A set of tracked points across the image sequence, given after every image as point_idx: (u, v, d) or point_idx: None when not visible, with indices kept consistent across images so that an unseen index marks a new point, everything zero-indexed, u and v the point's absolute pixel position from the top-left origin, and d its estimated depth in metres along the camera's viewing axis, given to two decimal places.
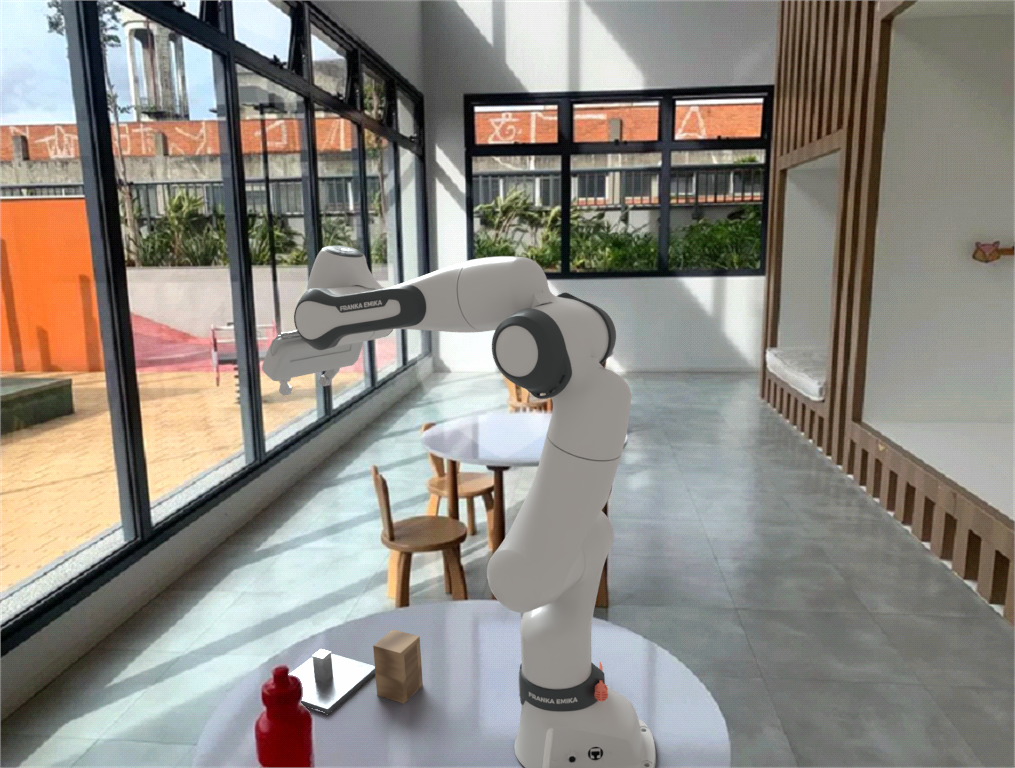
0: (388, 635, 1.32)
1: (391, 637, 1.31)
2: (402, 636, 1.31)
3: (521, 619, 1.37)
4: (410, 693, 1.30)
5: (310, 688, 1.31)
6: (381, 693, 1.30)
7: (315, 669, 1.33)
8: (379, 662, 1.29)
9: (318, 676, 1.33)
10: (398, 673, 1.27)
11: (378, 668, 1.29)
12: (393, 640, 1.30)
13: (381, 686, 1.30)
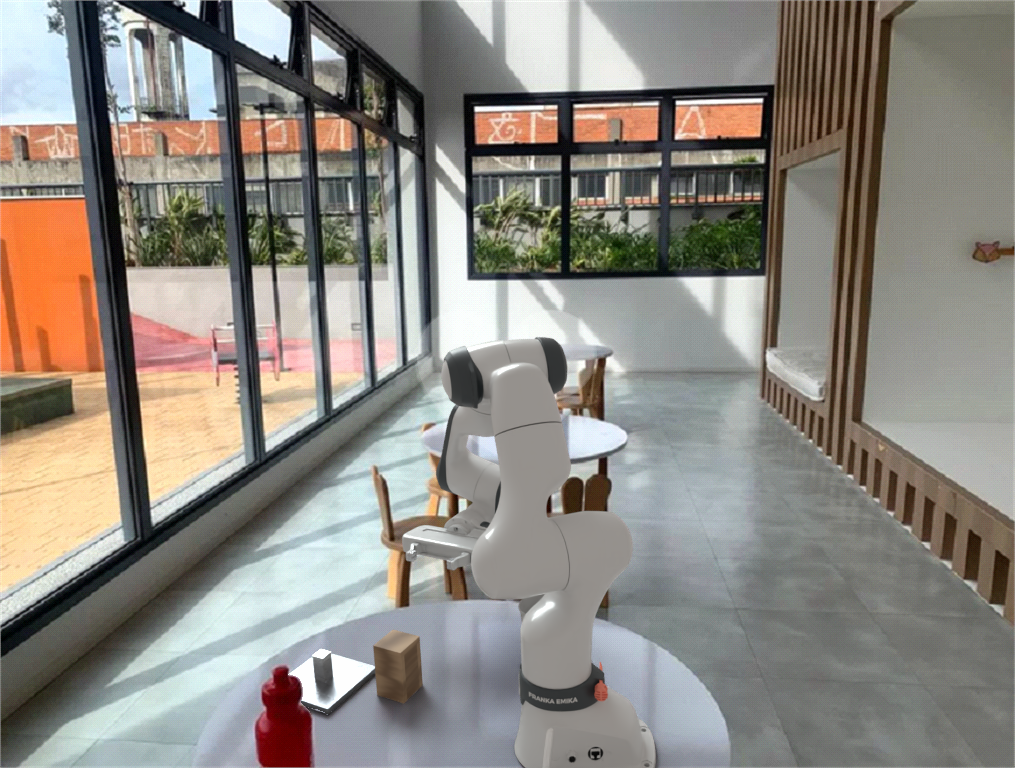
0: (388, 635, 1.32)
1: (391, 637, 1.31)
2: (402, 636, 1.31)
3: (521, 619, 1.37)
4: (410, 693, 1.30)
5: (310, 688, 1.31)
6: (381, 693, 1.30)
7: (315, 669, 1.33)
8: (379, 662, 1.29)
9: (318, 676, 1.33)
10: (398, 673, 1.27)
11: (378, 668, 1.29)
12: (393, 640, 1.30)
13: (381, 686, 1.30)
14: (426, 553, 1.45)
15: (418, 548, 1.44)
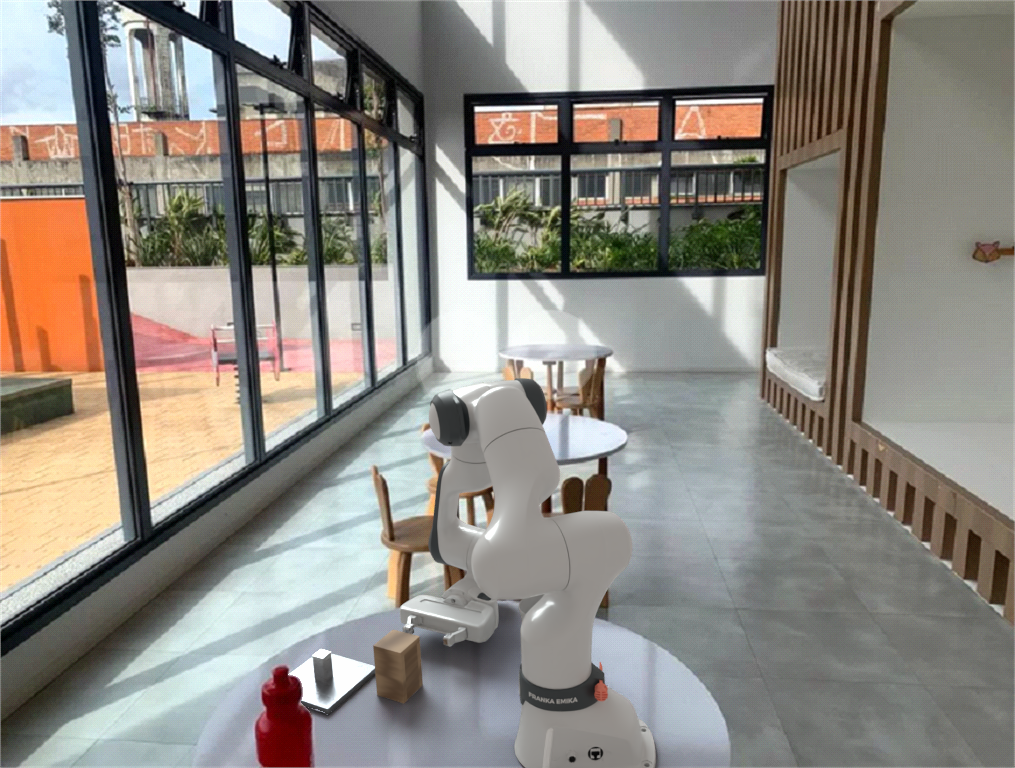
0: (388, 635, 1.32)
1: (391, 637, 1.31)
2: (402, 636, 1.31)
3: (521, 619, 1.37)
4: (410, 693, 1.30)
5: (310, 688, 1.31)
6: (381, 693, 1.30)
7: (315, 669, 1.33)
8: (379, 662, 1.29)
9: (318, 676, 1.33)
10: (398, 673, 1.27)
11: (378, 668, 1.29)
12: (393, 640, 1.30)
13: (381, 686, 1.30)
14: (423, 625, 1.45)
15: (415, 621, 1.44)
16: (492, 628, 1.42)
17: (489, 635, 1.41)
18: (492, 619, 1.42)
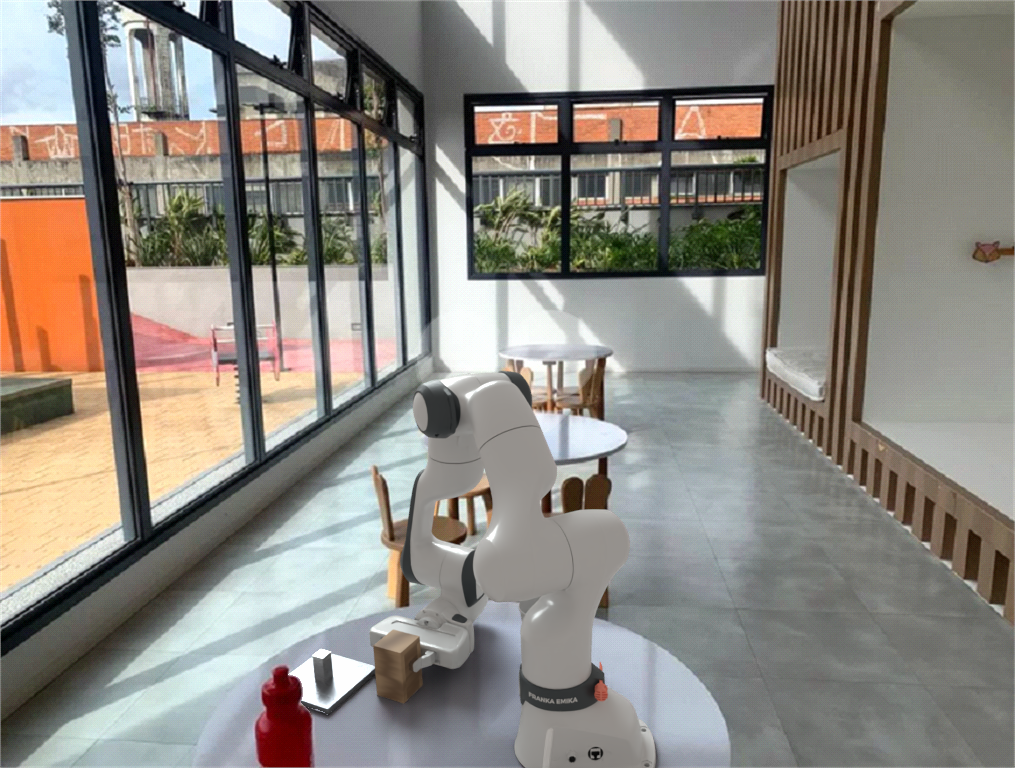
0: (388, 635, 1.32)
1: (391, 637, 1.31)
2: (402, 636, 1.31)
3: (521, 619, 1.37)
4: (410, 693, 1.30)
5: (310, 688, 1.31)
6: (381, 693, 1.30)
7: (315, 669, 1.33)
8: (379, 662, 1.29)
9: (318, 676, 1.33)
10: (398, 673, 1.27)
11: (378, 668, 1.29)
12: (393, 640, 1.30)
13: (381, 686, 1.30)
14: None
15: None
16: (466, 652, 1.34)
17: (463, 660, 1.32)
18: (467, 643, 1.34)
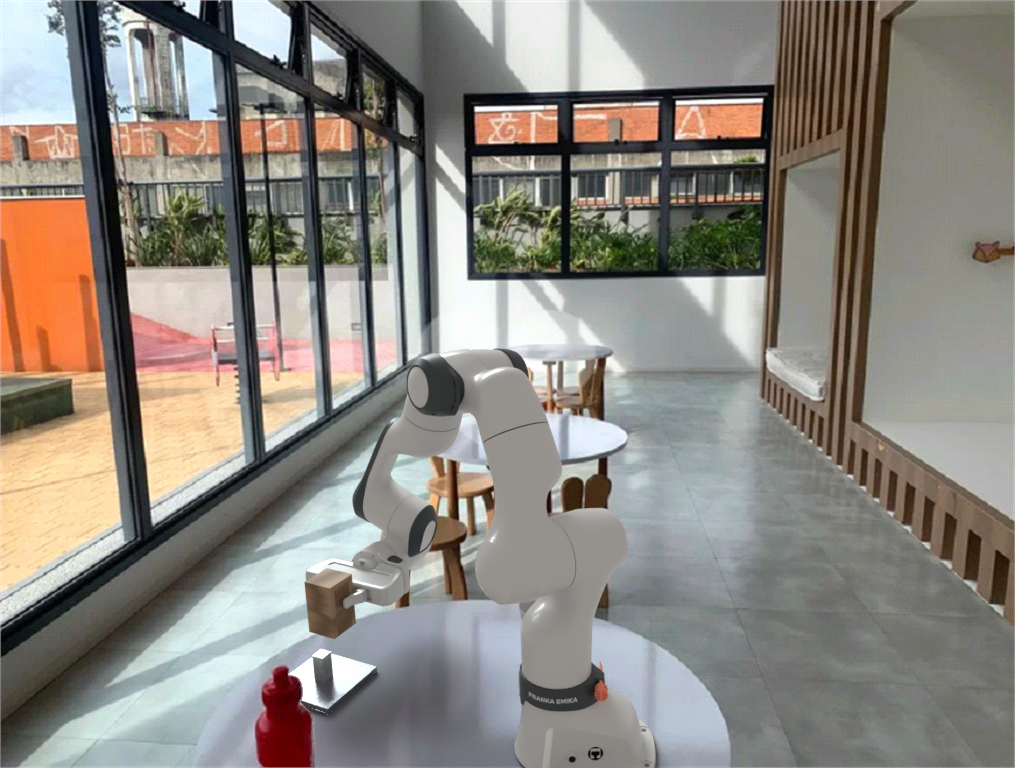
0: (321, 573, 1.33)
1: (323, 575, 1.32)
2: (334, 573, 1.32)
3: (521, 619, 1.37)
4: (341, 629, 1.30)
5: (310, 688, 1.31)
6: (313, 629, 1.31)
7: (315, 669, 1.33)
8: (310, 598, 1.29)
9: (318, 676, 1.33)
10: (328, 609, 1.28)
11: (309, 604, 1.30)
12: (324, 577, 1.31)
13: (312, 622, 1.30)
14: None
15: None
16: (399, 591, 1.34)
17: (395, 598, 1.33)
18: (400, 582, 1.34)
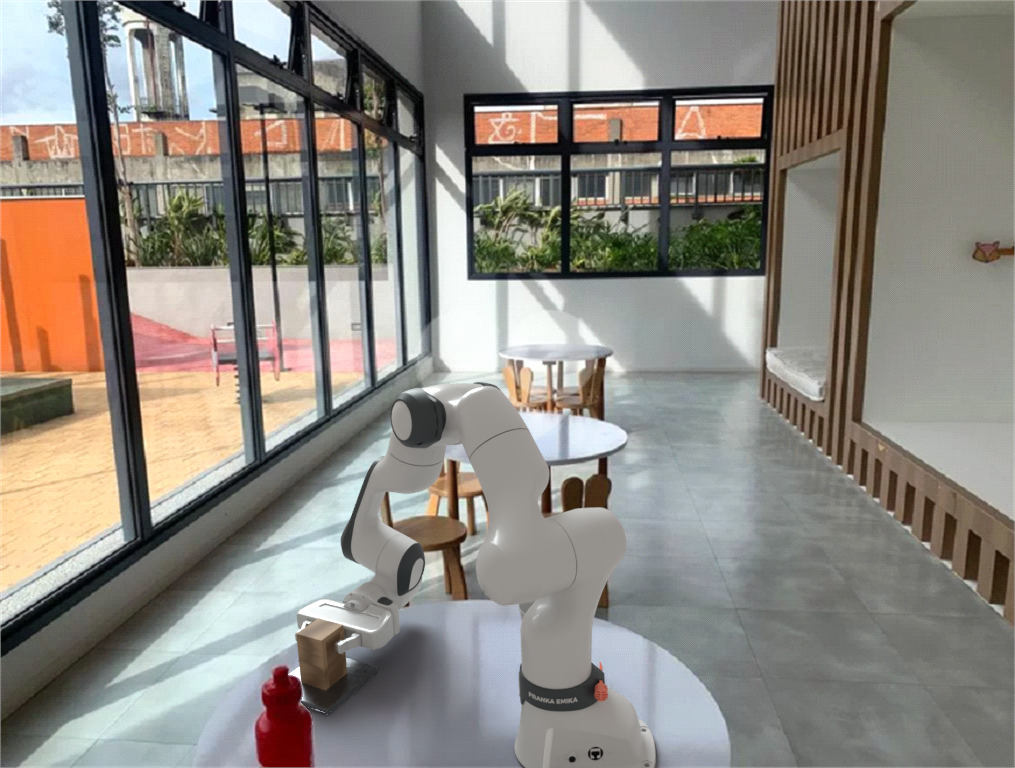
0: (312, 624, 1.34)
1: (315, 625, 1.34)
2: (326, 624, 1.34)
3: (521, 619, 1.37)
4: (333, 680, 1.32)
5: (310, 688, 1.31)
6: (305, 680, 1.33)
7: None
8: (302, 650, 1.31)
9: None
10: (320, 660, 1.30)
11: (301, 656, 1.32)
12: (316, 628, 1.33)
13: (304, 673, 1.32)
14: None
15: None
16: (389, 634, 1.36)
17: (385, 641, 1.34)
18: (389, 625, 1.36)
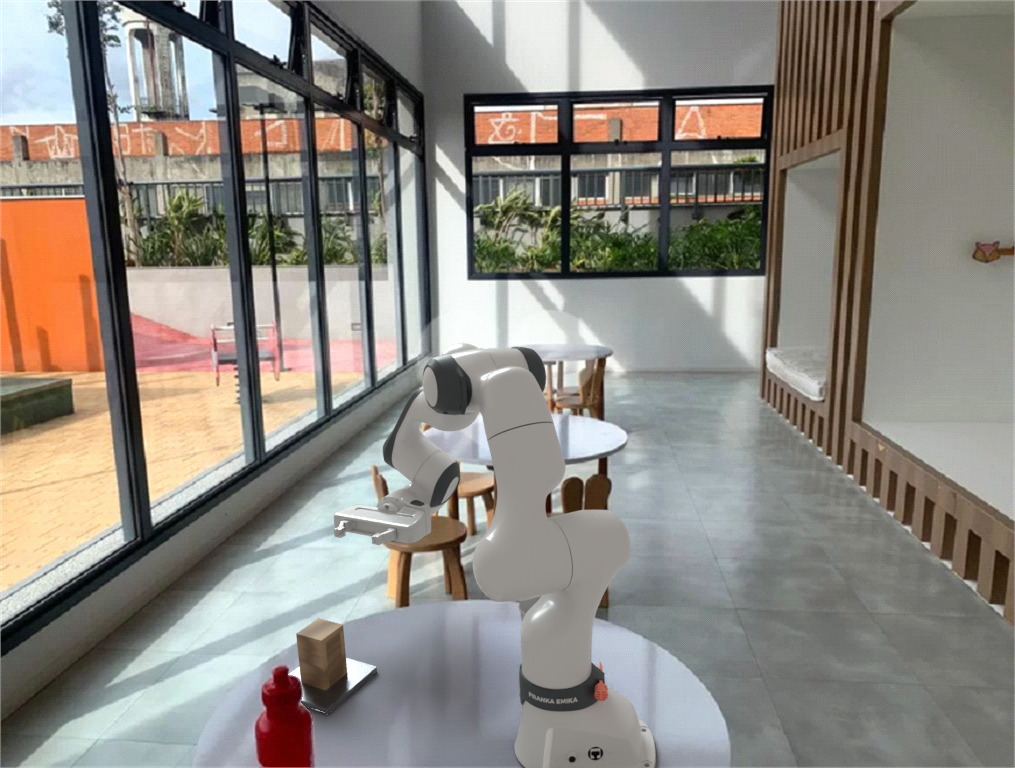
0: (312, 624, 1.34)
1: (315, 625, 1.34)
2: (326, 624, 1.34)
3: (521, 619, 1.37)
4: (333, 680, 1.32)
5: (310, 688, 1.31)
6: (305, 680, 1.33)
7: None
8: (302, 650, 1.31)
9: None
10: (320, 660, 1.30)
11: (301, 656, 1.32)
12: (316, 628, 1.33)
13: (304, 673, 1.32)
14: (356, 530, 1.47)
15: (348, 525, 1.46)
16: (422, 531, 1.44)
17: (419, 536, 1.43)
18: (423, 522, 1.44)
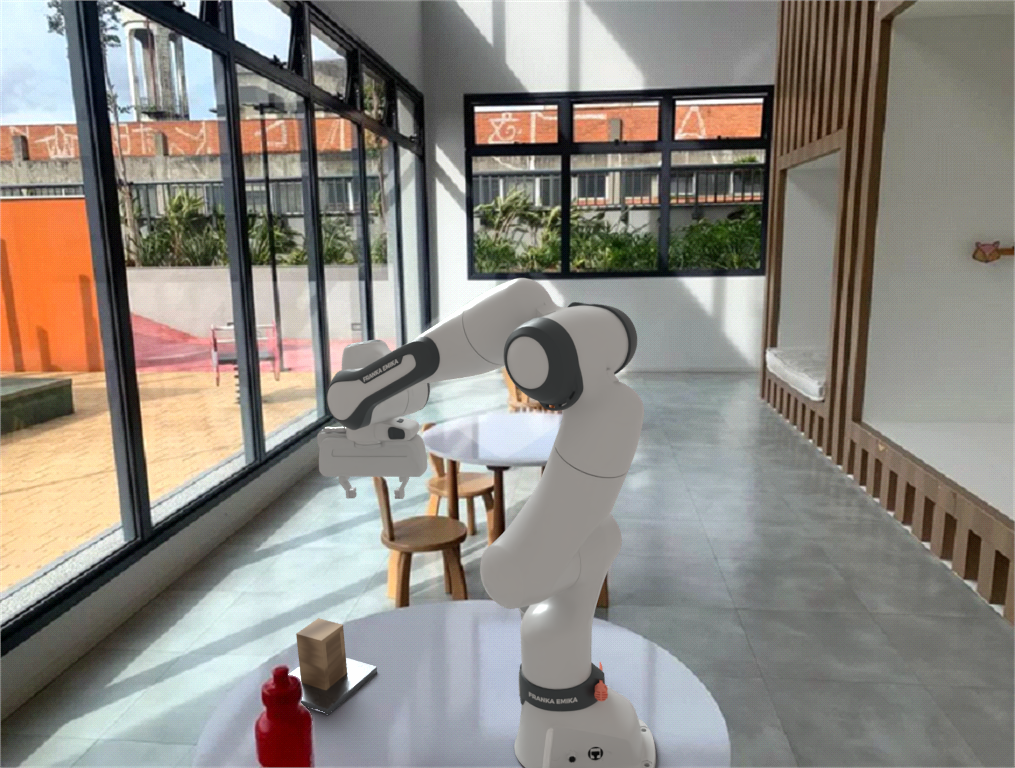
0: (312, 624, 1.34)
1: (315, 625, 1.34)
2: (326, 624, 1.34)
3: (521, 619, 1.37)
4: (333, 680, 1.32)
5: (310, 688, 1.31)
6: (305, 680, 1.33)
7: None
8: (302, 650, 1.31)
9: None
10: (320, 660, 1.30)
11: (301, 656, 1.32)
12: (316, 628, 1.33)
13: (304, 673, 1.32)
14: None
15: (347, 477, 1.34)
16: (423, 450, 1.32)
17: (426, 458, 1.33)
18: (421, 450, 1.31)
